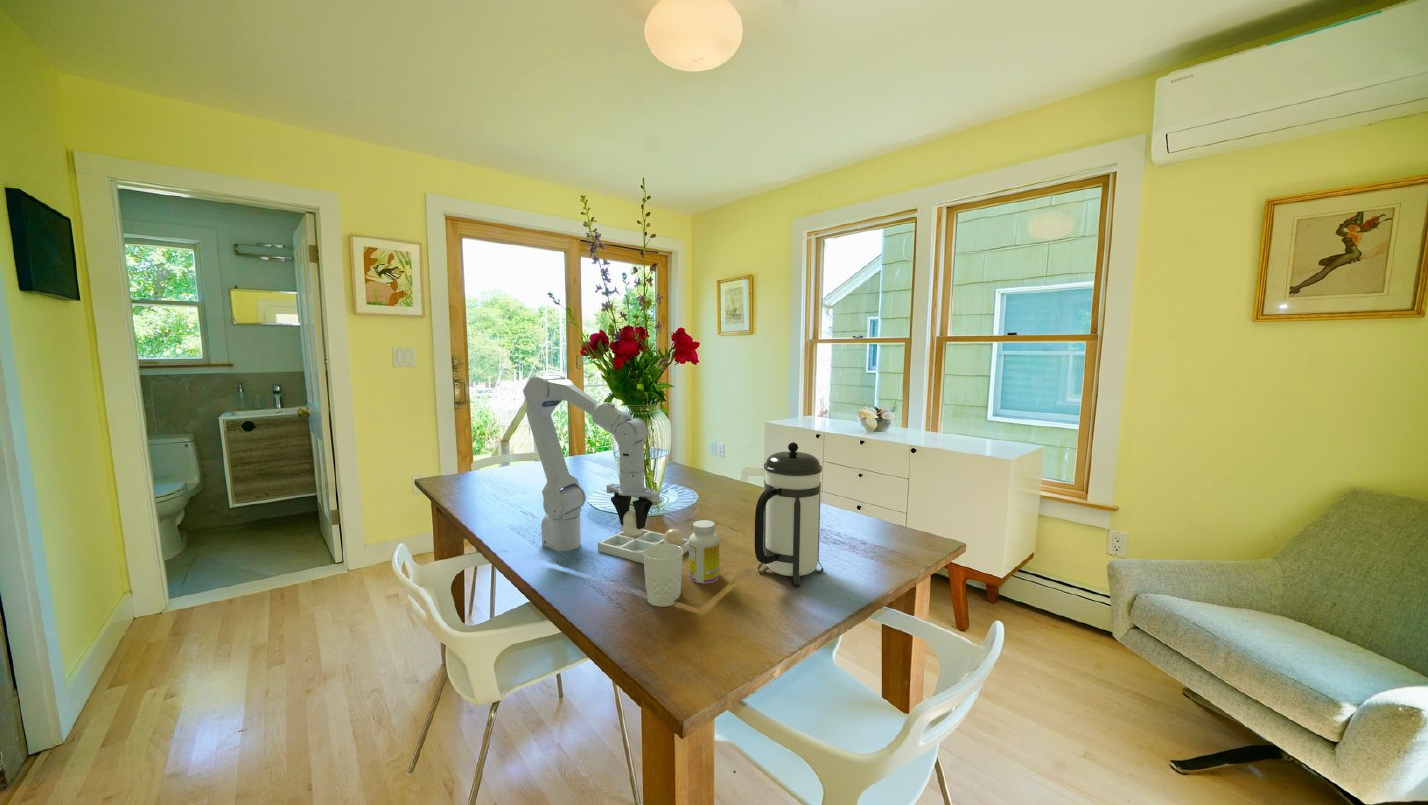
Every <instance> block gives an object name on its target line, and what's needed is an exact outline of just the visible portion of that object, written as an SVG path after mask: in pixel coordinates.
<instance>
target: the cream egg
mask: <svg viewBox="0 0 1428 805" xmlns="http://www.w3.org/2000/svg"><path fill="white" fill-rule="evenodd" d="M622 528H623V533H624V534H625V535H630V536H633V535H638V534H641V533H642V529H643V528H642V529H640V530H639V529H637V526H636V513H635V509H629V511H627V512H626V513H625V515H624V517H623V527H622Z"/></svg>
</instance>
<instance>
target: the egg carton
mask: <svg viewBox="0 0 1428 805" xmlns="http://www.w3.org/2000/svg"><path fill="white" fill-rule="evenodd" d="M664 535H665V533H662V532H661V533H660V532H656V531H652V530H648V529H644V528H642V536H640V537H638V538H636V539H634V538H630V537H626V536H625V534H624V533H623V531H622V530H621V531H620V532H618V533H616V534H614V535H611V536H610V537H608V538H607V537H606V538H605V539H604V540H601V541H599V542H597V551H598V552H600V553H604V554H608V555H612V556H615V557H619V558H622V559H626V560H630V561H633V562H637V563H641V564H644V550H645V549H646V548H648V547H650V546H653V545H657V544H664ZM680 547H681V548H682V549H683V555H684V554H686V553H688V552H689V539H687V538H683V537H682V545H681V546H680Z"/></svg>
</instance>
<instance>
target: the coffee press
mask: <svg viewBox="0 0 1428 805" xmlns="http://www.w3.org/2000/svg"><path fill="white" fill-rule="evenodd" d="M787 449H788V451H781V452H776V453H773V454H771V455H769V456H768V457H767V459H766V461H765V463H764V464H763V470H764V471H765V474H764V475H765V479H764V481H763V482H764V483H763V484H764V485H763V486H764V488H763V490H764V491H763V492H762V493H761V495H760V496H759V497H758V500H757V503H756V504H755V505H756V506H755V513H754V553H755V555H754V556H755V557H756V560H757V561H758V562H759V564H758V566H757V571H758V573H759V574H765V572H766V571H768V570H770V571H772V572H774V573H776V574H778V575H782V576H787V577H791V582H792V587H798V588H799V587H800V586H801V583H800V582H801V581H800V576H806V575H809V574H811V573H813V572H814V571H816V573H818V574H822V573H824V568H823V566H822V564H821V563H820V558H819V557H820V554H819V553H820V552H819V551H820V524H821V523H820V522H821V519H820V518H821V491H822V490H821V489H822V485H821V484H822V482H821V473H822V472H823V466H822V465H821V463H820V460H819V459H818V458H817V457H816V456H814V455H812V454H809V453H806V452H803V451H802V452H801V451H798V449H799V445H798V444H797V443H796V442H794V441H792V442H790V443H789V444H788V446H787ZM818 564H819V565H820V567H821V569H820V570H819V569H817V567H818ZM763 565H765V567H764V568H763V569H762V570H760V569H761V567H763Z"/></svg>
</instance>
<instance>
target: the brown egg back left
mask: <svg viewBox="0 0 1428 805" xmlns="http://www.w3.org/2000/svg"><path fill="white" fill-rule="evenodd" d="M625 536H626V537H630V538H634V539H636V538H638V537H640V536H642V533H641V534H638V535H633V536H630V535H625Z"/></svg>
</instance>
